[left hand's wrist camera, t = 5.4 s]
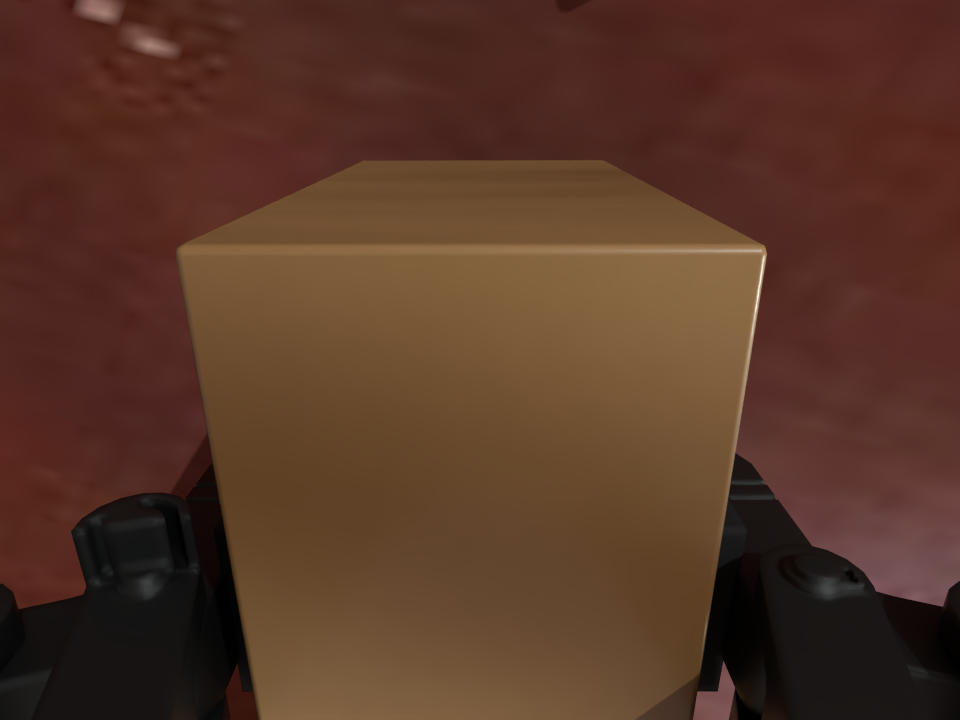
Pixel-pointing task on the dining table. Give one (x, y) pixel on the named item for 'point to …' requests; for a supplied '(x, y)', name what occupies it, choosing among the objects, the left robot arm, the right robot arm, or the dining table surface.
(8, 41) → the dining table surface
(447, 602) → the bar
